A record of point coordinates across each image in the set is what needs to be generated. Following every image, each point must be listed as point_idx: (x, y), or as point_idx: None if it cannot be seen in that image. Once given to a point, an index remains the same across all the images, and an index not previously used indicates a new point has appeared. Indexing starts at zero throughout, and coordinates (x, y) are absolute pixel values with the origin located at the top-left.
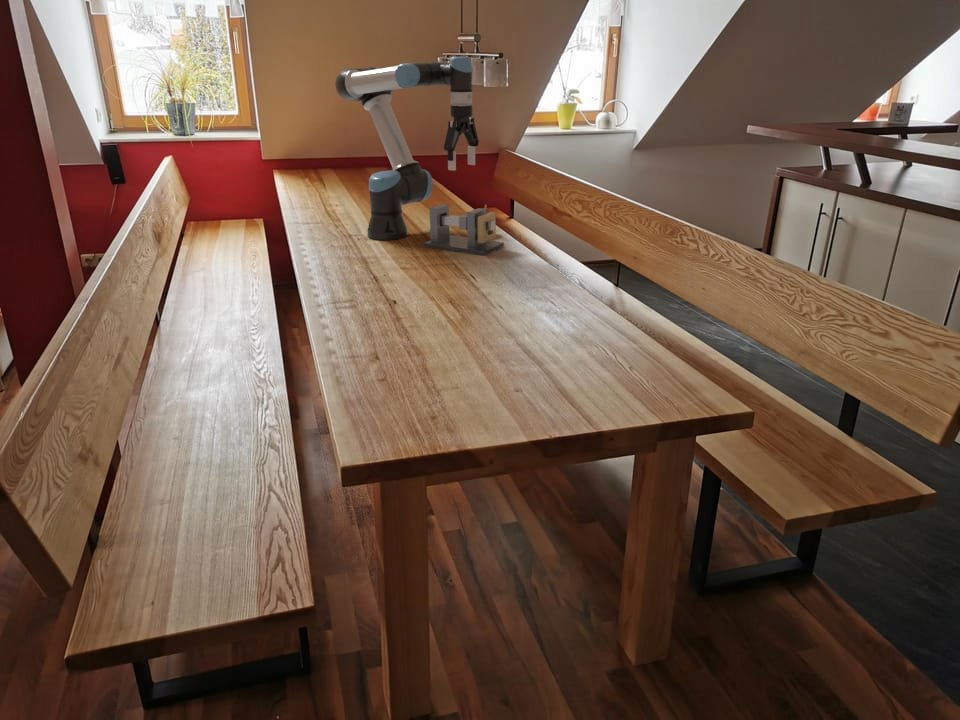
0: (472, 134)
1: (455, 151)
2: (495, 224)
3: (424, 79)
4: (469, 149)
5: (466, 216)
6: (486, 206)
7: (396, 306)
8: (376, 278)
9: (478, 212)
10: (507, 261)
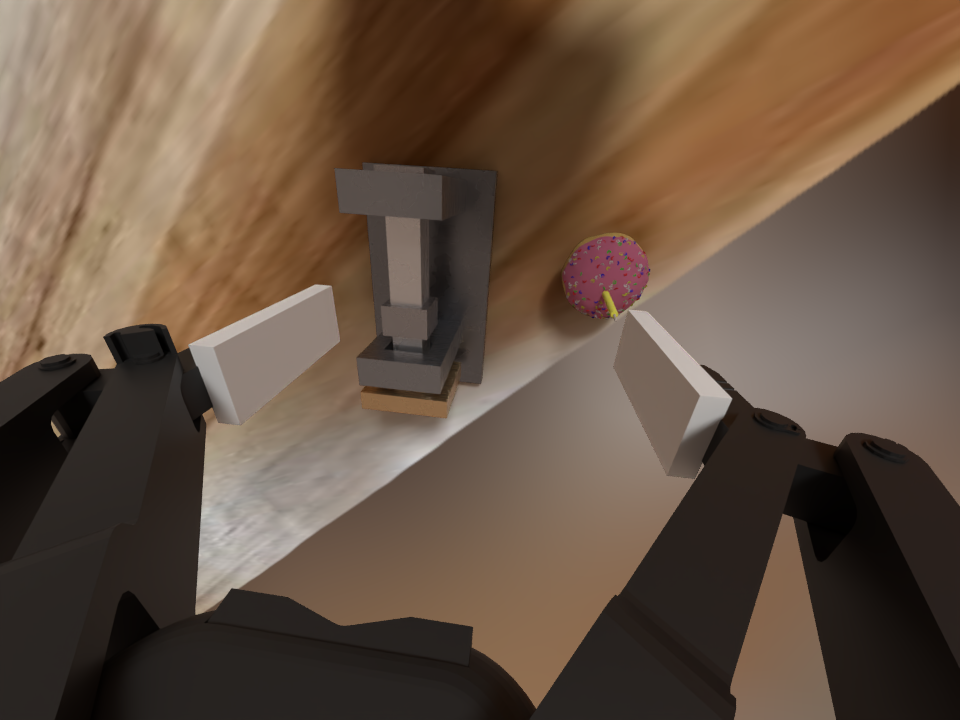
0: (860, 618)
1: (239, 423)
2: (453, 396)
3: None
4: (674, 395)
5: (398, 329)
6: (613, 317)
7: (33, 358)
8: (76, 223)
9: (387, 386)
10: (371, 424)
